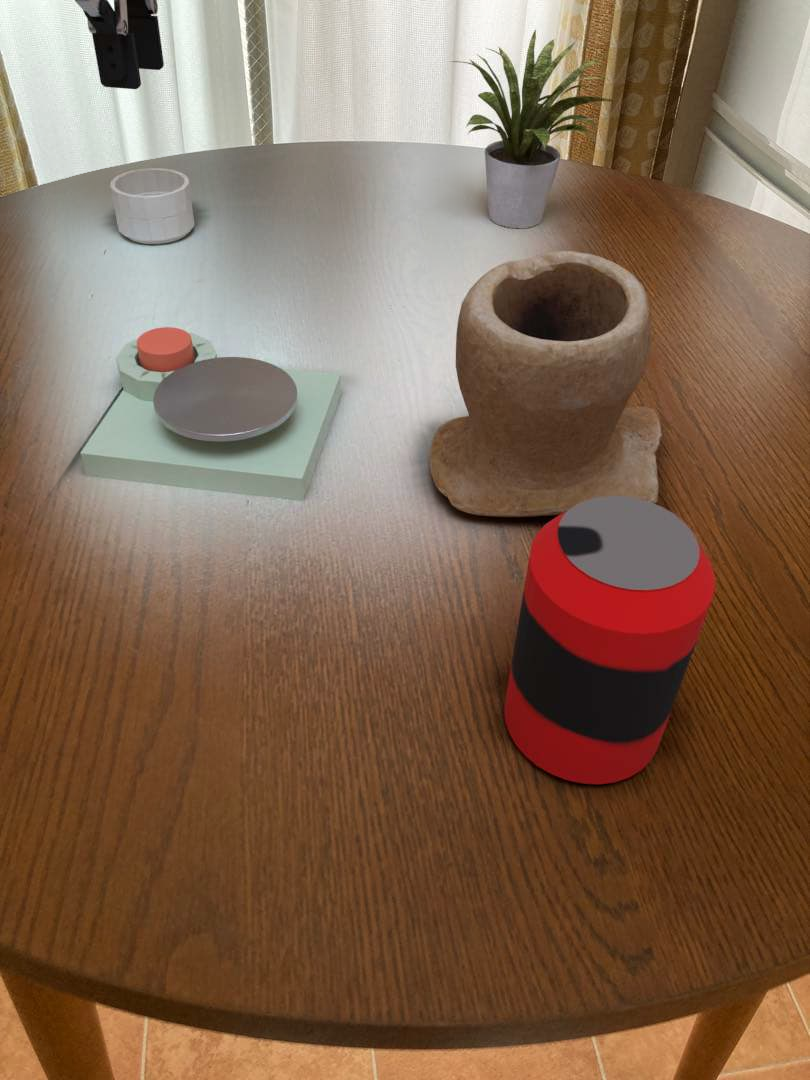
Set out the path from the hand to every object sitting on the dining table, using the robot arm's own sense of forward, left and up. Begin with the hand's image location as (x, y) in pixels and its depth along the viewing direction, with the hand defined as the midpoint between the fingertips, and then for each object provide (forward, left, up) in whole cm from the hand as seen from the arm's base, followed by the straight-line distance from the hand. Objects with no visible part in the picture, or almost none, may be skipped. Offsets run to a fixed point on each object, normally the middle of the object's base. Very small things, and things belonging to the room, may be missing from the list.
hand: (133, 74), depth 76 cm
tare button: (+10, -26, -10) cm, 30 cm away
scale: (+15, -30, -13) cm, 36 cm away
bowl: (0, 0, -13) cm, 13 cm away
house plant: (+32, +9, -14) cm, 36 cm away
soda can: (+39, -50, -14) cm, 65 cm away
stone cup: (+37, -32, -14) cm, 51 cm away
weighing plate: (+16, -31, -10) cm, 36 cm away
